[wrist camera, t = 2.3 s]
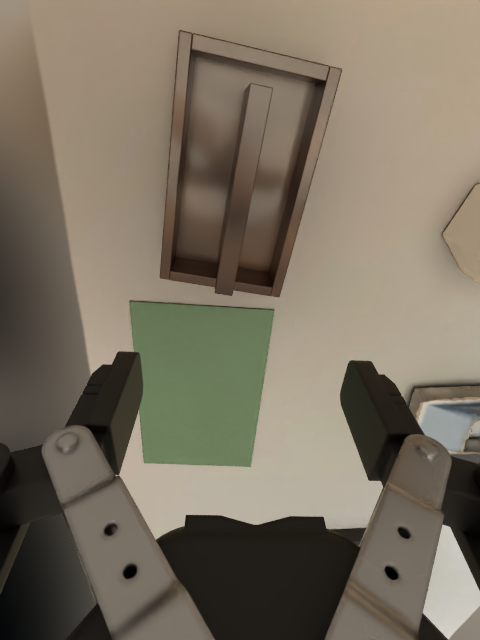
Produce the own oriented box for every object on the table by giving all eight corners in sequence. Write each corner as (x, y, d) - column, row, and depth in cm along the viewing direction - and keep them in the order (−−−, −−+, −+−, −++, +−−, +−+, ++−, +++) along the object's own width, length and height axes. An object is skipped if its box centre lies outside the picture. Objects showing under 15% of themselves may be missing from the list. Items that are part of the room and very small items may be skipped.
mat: (129, 300, 34) (129, 301, 34) (273, 309, 35) (274, 310, 35) (144, 461, 46) (144, 463, 46) (250, 465, 47) (250, 466, 47)
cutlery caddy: (186, 40, 24) (164, 9, 16) (327, 73, 25) (370, 59, 17) (167, 260, 32) (146, 308, 24) (274, 277, 33) (287, 330, 25)
